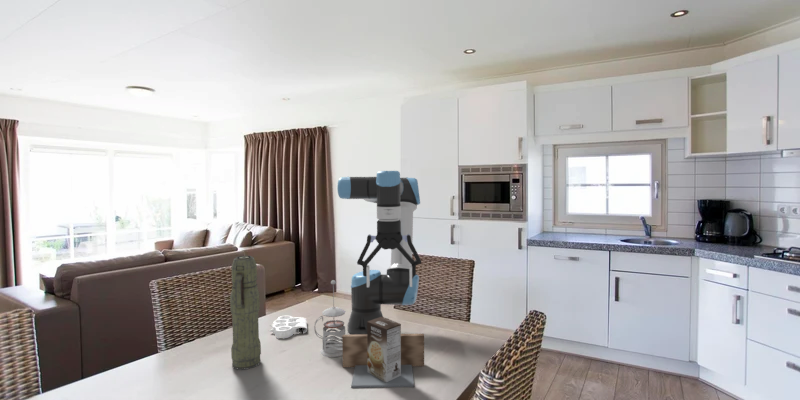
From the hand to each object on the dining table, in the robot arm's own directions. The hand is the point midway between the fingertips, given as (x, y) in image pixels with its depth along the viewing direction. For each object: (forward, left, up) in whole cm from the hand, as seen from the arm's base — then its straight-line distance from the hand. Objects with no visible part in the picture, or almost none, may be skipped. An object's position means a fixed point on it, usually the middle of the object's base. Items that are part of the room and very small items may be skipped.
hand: (389, 286), depth 128 cm
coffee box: (+5, -5, -25) cm, 26 cm away
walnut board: (-1, -2, -26) cm, 26 cm away
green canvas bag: (-28, -38, -26) cm, 54 cm away
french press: (-21, -11, -26) cm, 35 cm away
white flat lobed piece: (-50, -17, -27) cm, 59 cm away
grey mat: (+5, -6, -26) cm, 27 cm away
